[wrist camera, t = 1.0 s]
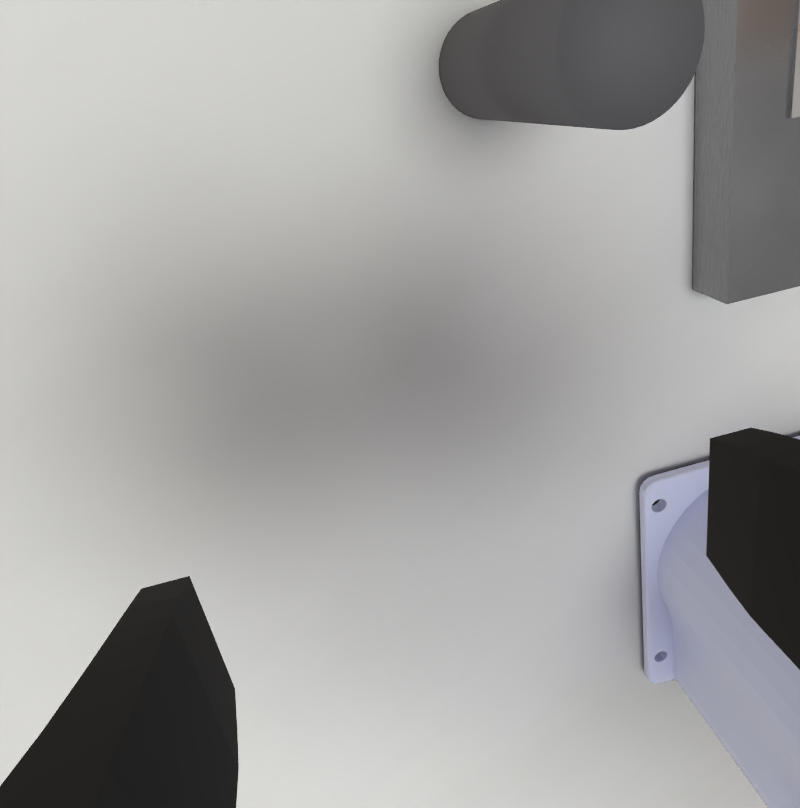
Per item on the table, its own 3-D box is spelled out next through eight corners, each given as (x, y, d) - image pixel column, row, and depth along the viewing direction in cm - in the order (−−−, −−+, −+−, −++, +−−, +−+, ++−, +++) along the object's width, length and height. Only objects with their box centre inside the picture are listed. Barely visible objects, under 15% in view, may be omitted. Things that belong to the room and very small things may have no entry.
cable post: (538, 108, 17) (702, 112, 11) (446, 127, 17) (561, 144, 10) (528, -1, 16) (707, -67, 10) (431, 18, 16) (547, -36, 9)
